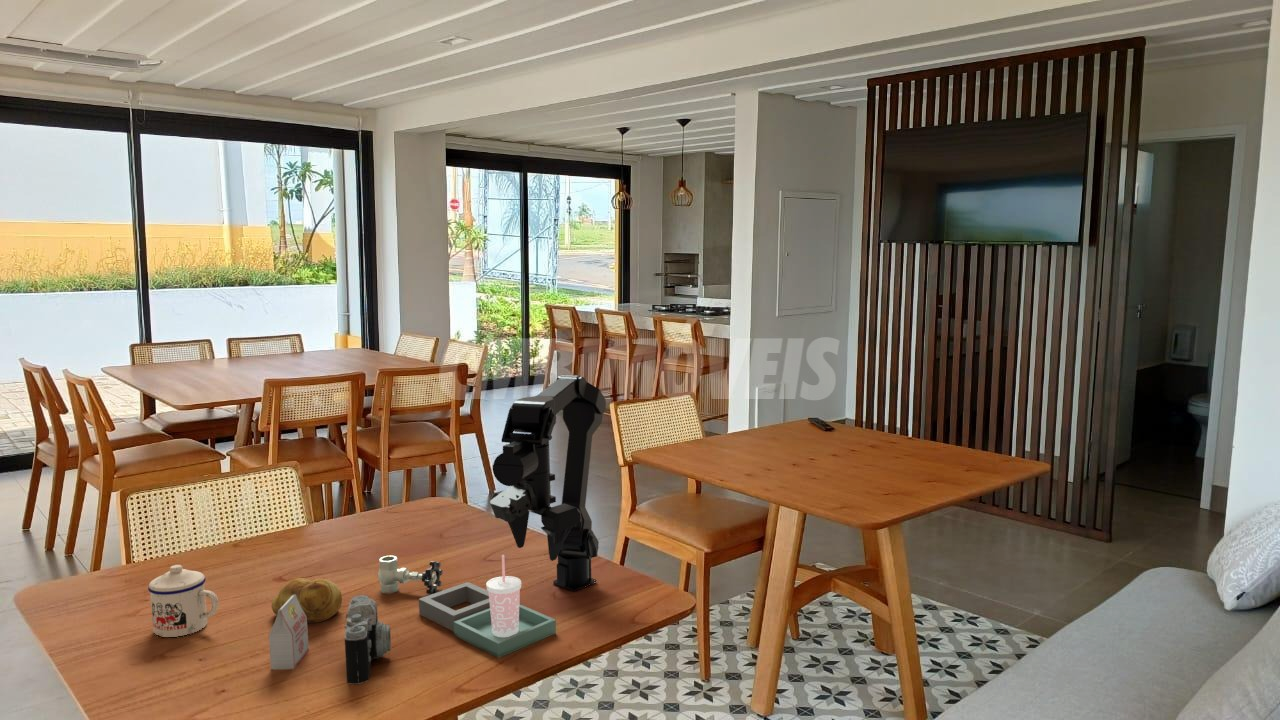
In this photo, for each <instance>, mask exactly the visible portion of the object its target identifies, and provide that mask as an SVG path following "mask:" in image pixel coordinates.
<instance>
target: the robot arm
mask: <svg viewBox="0 0 1280 720" xmlns="http://www.w3.org/2000/svg"><path fill="white" fill-rule="evenodd" d="M606 406H607V401H606V398H605V396H604V395H603V392H602V391H601V390H600V388H599V387H596V386H595V385H593V384H592V383H589V382H588V381H587V380H586V378H585V377H584V376H581V375H579V374H577V375H576V374H561V375H558V376H557V378H556V380H555V381H554V382H552V383H551V384H550V385H548V387H546V388H545V389H543V390H542V391H541V392H540V393H538V394H537V395H533V396H527V397H521V398H519V399H516V400H515V401H514V402H513V403H512V405H511V406H510V408H509V410H508V413H507V417H506V421H505V425H504V430H503V432H502V436H501V443H506V444H504V445H503V446H502V453H500V454H498V455H497V456H495V459H494V461H493V464H492V473H493V476H494V477H495V479H496V480H497V481H498V482H499V484H501V485H503V486H507V487H508V488H505V489H504V490H499V491H495V492H494V494H493V495H492V496H491V499H490V501H489V503H490V507H491V509H492V512H493V514H494V517H495V518H496V519H501V520H503V521H505V522H507V524H508V526H509V528H510V530H511V534H512V537H513V539H514V541H515V544H516V546H517V547H516V548H517V549H522V548H523V547H524V545H525V542H526V537H527V530H528V525H529V524H528V523H529V517H530V513H533V514H536V515H538V516H540V520H541V523H542V525H543V526H542V527H541V528H540V529H541V530H542V531H543V532H544V533H545V534H546V536H547V547H548V555H549V556H548V557H549V561H551V562H553V561H555V560H557V563H556V579H554V580H552V583H553V585H556V586H558V587H561V588H563V589H567V590H569V591H571V592H577V591H579V590H581V589H580V588H582V589H584V588H586V587H585V586H587V585H589V584H592V583H594V582H596V581H597V579H596V578H592V558H597V557H598V556H599V554H598V551H599V548H600V547H599V542H600V541H599V539H598V538H597V537H596V535H595V533H594V531H593V530H592V529H593V527H592V526H593V524H592V523H593V521H592V518H591V515H590V514H589V512H588V510H587V508H586V505H587V504H586V503H587V502H586V501H587V493H588V492H587V491H588V483H589V482H588V480H589V474H590V473H589V472H590V461H591V454H592V453H591V452H592V450H591V449H592V443H593V435H594V434H595V432H596V431H597V430H598V428H599V427H600V426H601V424H602V422H603V417H604V415H603V414H604V413H605V412H606V408H607V407H606ZM561 411H562V420H563V422H564V424H565V427H566V429H567V430H568V440H567V449H566V458H565V468H564V478H563V485H562V487H563V489H562V496H561V504H558V505H554V506H551V504H555V503H556V502H557V500H556V499H557V498H556V496H554V495H552V494H551V482H553V481H556V474H554V473H551V463H550V441H551V440H552V439H553V435H552V433H553V431H554V427H555V425H556V424H557V414H559V413H560V412H561ZM594 580H595V581H594ZM597 582H598V581H597ZM594 584H595V583H594ZM592 585H593V584H592ZM589 586H590V585H589ZM583 587H584V588H583ZM587 587H588V586H587Z"/></svg>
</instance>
